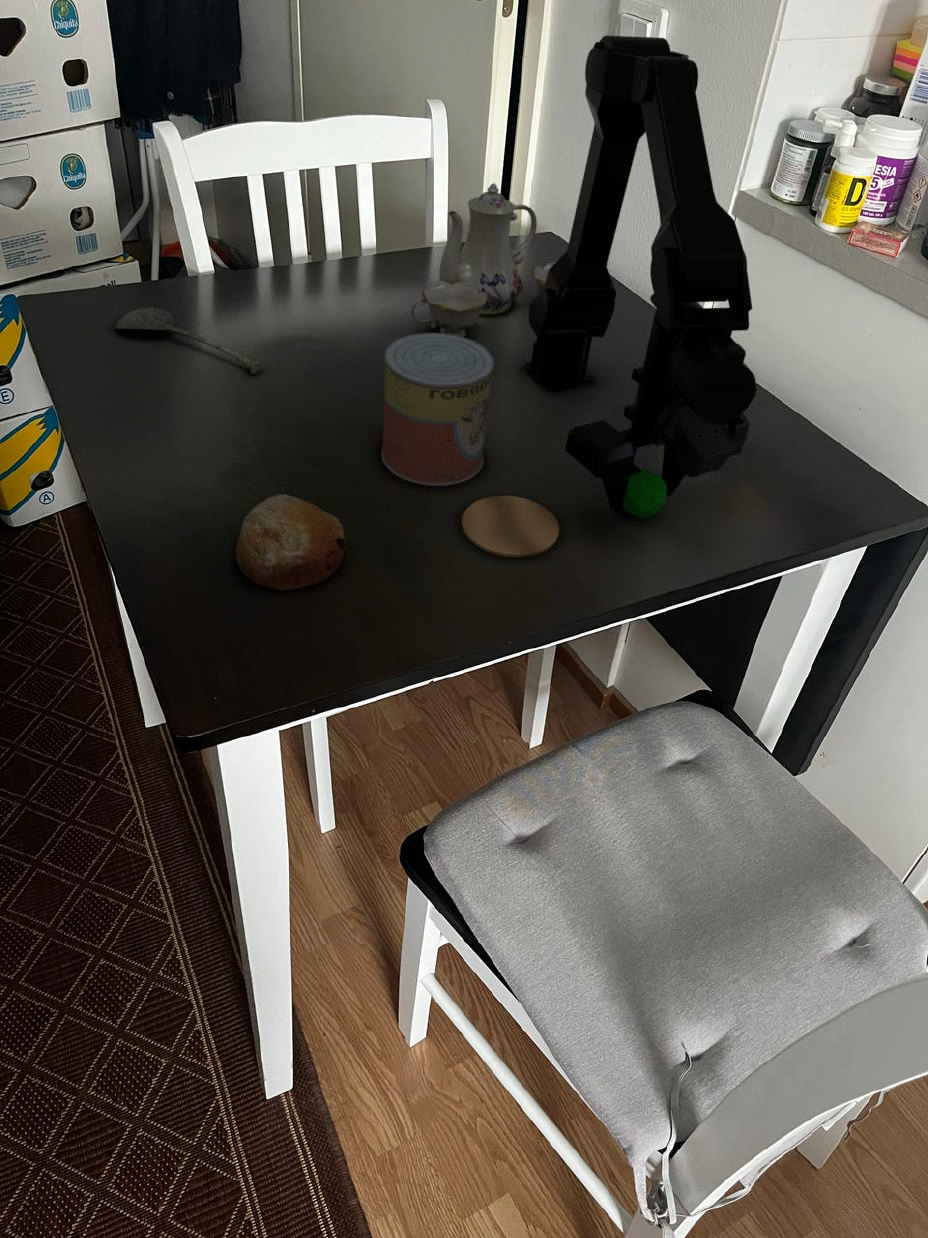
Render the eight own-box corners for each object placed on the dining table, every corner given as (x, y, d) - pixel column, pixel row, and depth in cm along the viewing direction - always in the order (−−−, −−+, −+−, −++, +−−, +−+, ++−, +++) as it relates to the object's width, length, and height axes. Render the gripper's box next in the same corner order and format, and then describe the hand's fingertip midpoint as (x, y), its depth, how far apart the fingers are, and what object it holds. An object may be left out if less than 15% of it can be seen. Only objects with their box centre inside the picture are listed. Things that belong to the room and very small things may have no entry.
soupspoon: (144, 316, 130) (106, 336, 126) (139, 292, 127) (100, 311, 123) (274, 363, 122) (239, 386, 118) (271, 338, 119) (235, 360, 115)
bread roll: (262, 554, 100) (222, 495, 95) (355, 521, 98) (319, 458, 93) (255, 620, 93) (211, 560, 88) (355, 585, 91) (316, 522, 86)
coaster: (524, 489, 106) (524, 486, 106) (577, 541, 100) (578, 538, 100) (443, 512, 102) (444, 509, 102) (494, 568, 96) (495, 565, 96)
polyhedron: (606, 513, 104) (615, 475, 101) (628, 493, 107) (636, 455, 104) (649, 532, 102) (658, 494, 99) (669, 510, 105) (679, 473, 102)
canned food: (447, 498, 104) (456, 397, 96) (361, 461, 108) (362, 360, 100) (501, 453, 111) (514, 355, 103) (418, 419, 115) (424, 322, 107)
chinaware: (443, 367, 128) (461, 245, 116) (374, 304, 136) (385, 184, 124) (602, 323, 142) (632, 210, 130) (530, 268, 150) (553, 157, 138)
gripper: (649, 430, 85) (616, 570, 95) (804, 389, 93) (757, 522, 103) (575, 371, 91) (551, 508, 102) (725, 337, 99) (689, 467, 110)
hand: (640, 502), depth 104 cm, fingers open, 7 cm apart
